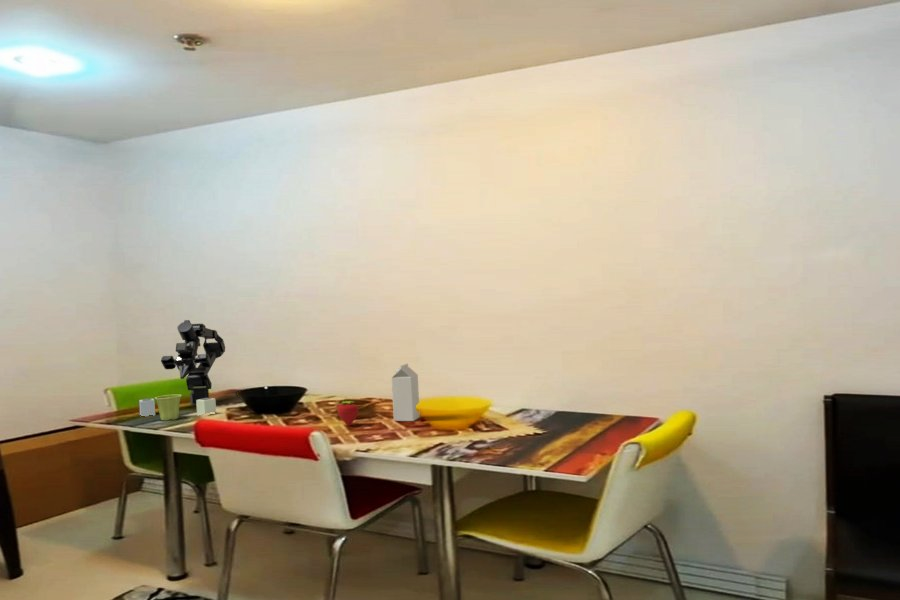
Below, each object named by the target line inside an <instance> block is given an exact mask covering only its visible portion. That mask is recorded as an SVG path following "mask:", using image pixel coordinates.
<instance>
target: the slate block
mask: <svg viewBox="0 0 900 600" xmlns="http://www.w3.org/2000/svg"><path fill="white" fill-rule="evenodd" d="M138 401H139V416H140V415H141V416H145V417H150V416H149V415H153V416H156V407H155V406H156V403H155V398H143V399H139V400H138ZM141 416H140V417H141Z"/></svg>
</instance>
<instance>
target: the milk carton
mask: <svg viewBox="0 0 900 600" xmlns="http://www.w3.org/2000/svg"><path fill="white" fill-rule="evenodd" d="M394 372H395V374H394V375H393V376H392V377H391V389H392V391H391V392H392V394H391V395H392V411H393V421H394V422H415V421H416V420H418V419H420V416H421V415H420V414H421V413H420V412H419V413H418V411H416V405H417V404H418V403H419V404H420V396H419V377H418V376H419V375H418V373H417V372H415V371H414V370H413V369H412V368H411V367H410V366H409V363H405V364H402V365H400V367H398V368H396V370H395V371H394Z"/></svg>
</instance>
